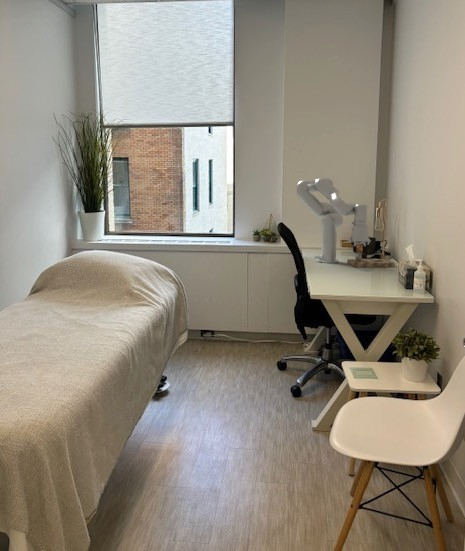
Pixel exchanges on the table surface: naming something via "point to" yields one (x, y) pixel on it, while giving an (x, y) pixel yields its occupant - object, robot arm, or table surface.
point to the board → (371, 263)
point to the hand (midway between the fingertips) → (358, 252)
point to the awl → (359, 252)
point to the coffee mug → (364, 255)
